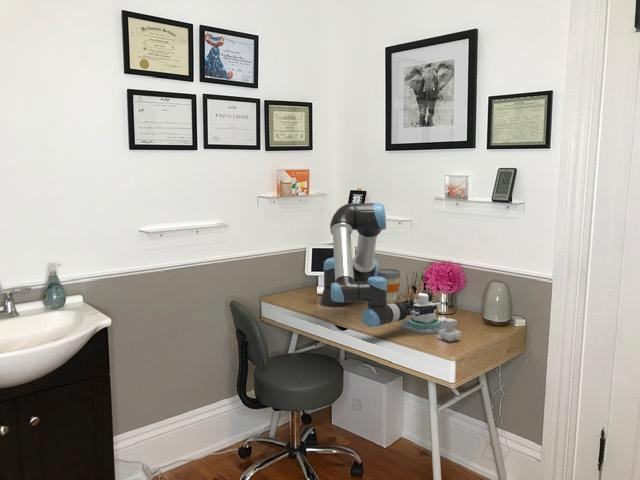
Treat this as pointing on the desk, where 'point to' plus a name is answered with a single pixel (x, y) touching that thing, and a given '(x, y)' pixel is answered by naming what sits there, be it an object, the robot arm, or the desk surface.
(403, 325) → the ring dish
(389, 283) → the reusable coffee cup
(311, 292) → the desk surface
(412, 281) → the reed diffuser
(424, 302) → the medicine bottle
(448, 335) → the stamp
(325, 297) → the robot arm
